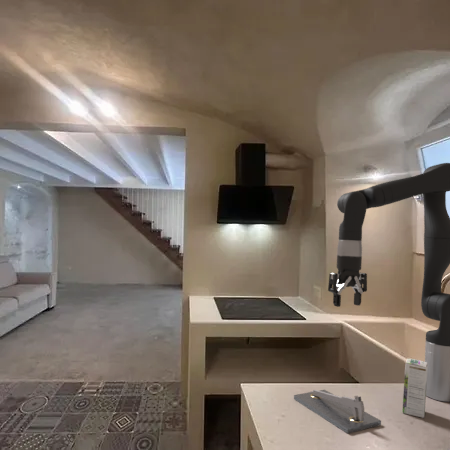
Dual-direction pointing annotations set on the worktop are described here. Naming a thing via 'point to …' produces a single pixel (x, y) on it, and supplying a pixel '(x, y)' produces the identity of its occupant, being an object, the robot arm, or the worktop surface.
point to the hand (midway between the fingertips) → (347, 305)
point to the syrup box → (415, 387)
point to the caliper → (345, 403)
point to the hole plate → (336, 413)
